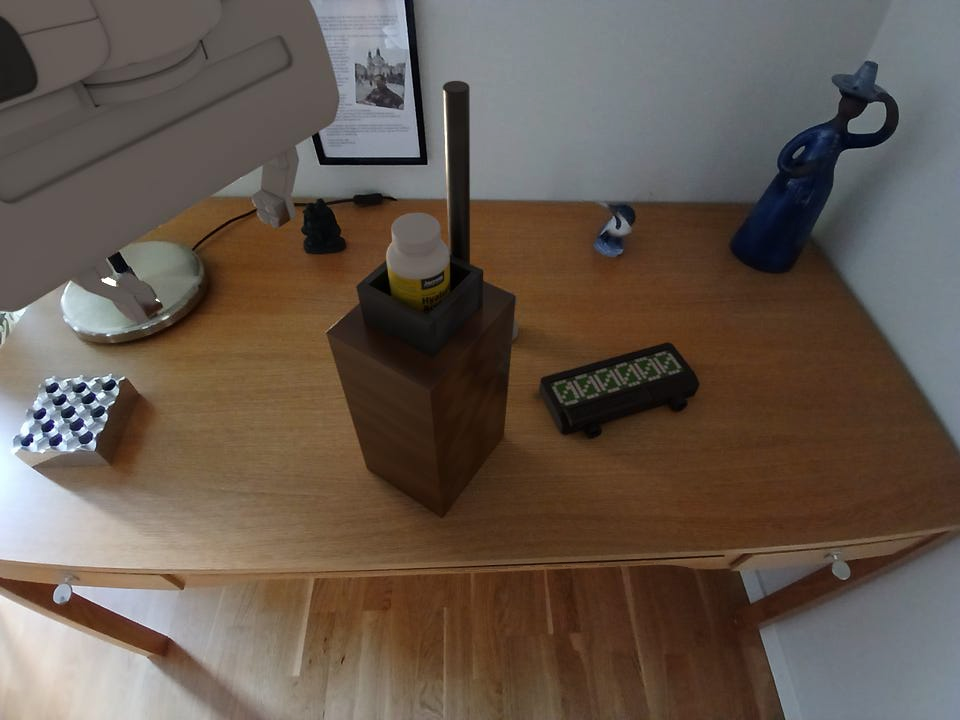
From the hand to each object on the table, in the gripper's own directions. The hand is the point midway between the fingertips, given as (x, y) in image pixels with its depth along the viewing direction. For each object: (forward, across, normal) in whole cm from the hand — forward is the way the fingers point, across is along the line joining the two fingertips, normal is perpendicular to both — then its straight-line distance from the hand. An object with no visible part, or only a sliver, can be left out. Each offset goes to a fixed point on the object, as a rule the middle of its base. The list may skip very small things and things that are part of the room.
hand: (216, 262), depth 31 cm
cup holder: (+43, -16, +1) cm, 46 cm away
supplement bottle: (+17, -16, +1) cm, 23 cm away
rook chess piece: (+43, -39, -3) cm, 58 cm away
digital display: (+43, -38, +17) cm, 60 cm away
